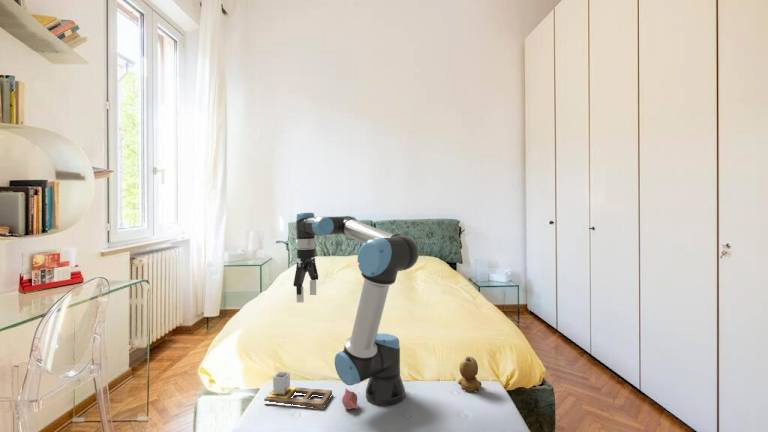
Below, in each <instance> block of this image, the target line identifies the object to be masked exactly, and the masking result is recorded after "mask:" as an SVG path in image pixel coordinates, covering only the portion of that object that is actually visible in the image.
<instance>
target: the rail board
mask: <svg viewBox="0 0 768 432" xmlns="http://www.w3.org/2000/svg"><path fill="white" fill-rule="evenodd" d="M295 392H296V393H302V394H306V395H305V396H303V397H302V398H296V397H294V398H291V397H292V396H293V395H294V393H295ZM312 395H318V396H323V398H321V399H309V398H310V397H311V396H312ZM331 395H332V396H333V390H332V389H323V388H322V389H320V388H319V389H318V388H310V387H308V388H306V387H295V386H290V392H289V393H288V394H287V395H286V396H277V395H274V389H273V390H272V391H270V392H269V393H268V395H266V396H265V398H264V400H263V402H264V401H269V402H276V403H284V404H291V405H292V404H293V405H300V406H306V407H313V408H318V409H317V410H324V408H325V407H326V406H327V404H328V402H329V401H330V399H331V398H330V396H331ZM332 396H331V397H332ZM329 398H330V399H329ZM328 400H329V401H328ZM327 401H328V402H327ZM326 403H327V404H326ZM324 406H325V407H324Z"/></svg>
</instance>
